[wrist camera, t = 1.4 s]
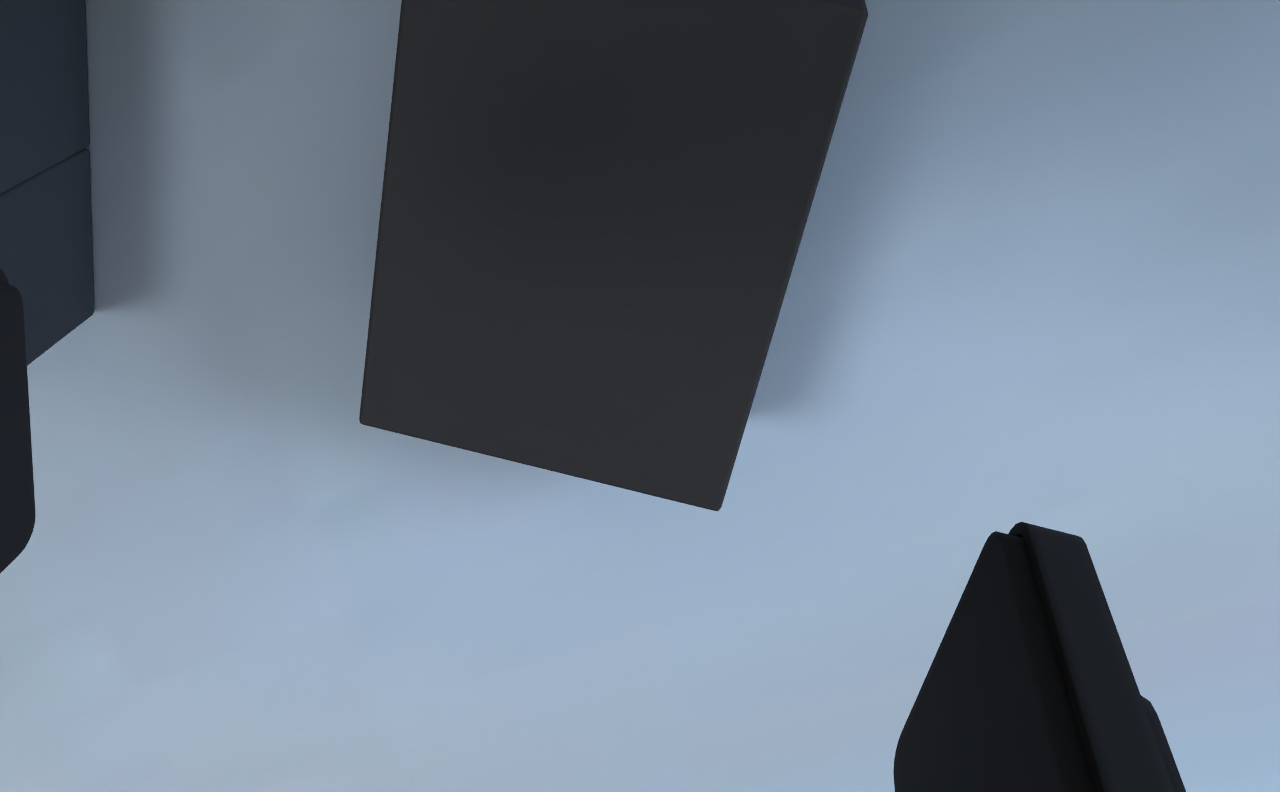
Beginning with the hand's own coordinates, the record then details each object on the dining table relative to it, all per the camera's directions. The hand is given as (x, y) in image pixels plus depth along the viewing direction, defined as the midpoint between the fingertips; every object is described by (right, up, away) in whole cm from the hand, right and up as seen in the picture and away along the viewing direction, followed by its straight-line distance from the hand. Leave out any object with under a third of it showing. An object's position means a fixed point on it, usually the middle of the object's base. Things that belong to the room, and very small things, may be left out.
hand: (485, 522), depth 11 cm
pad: (+1, +6, +7) cm, 10 cm away
